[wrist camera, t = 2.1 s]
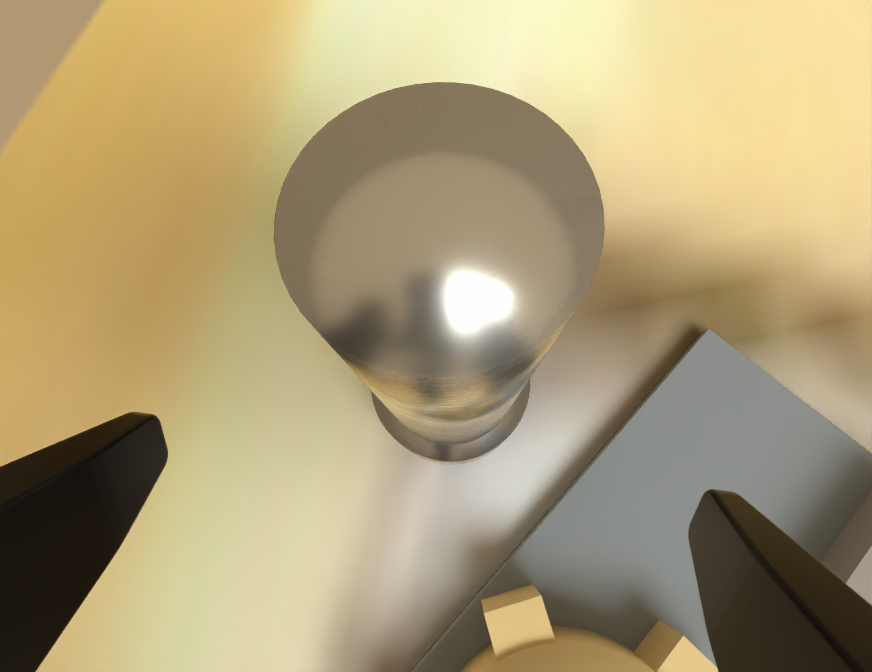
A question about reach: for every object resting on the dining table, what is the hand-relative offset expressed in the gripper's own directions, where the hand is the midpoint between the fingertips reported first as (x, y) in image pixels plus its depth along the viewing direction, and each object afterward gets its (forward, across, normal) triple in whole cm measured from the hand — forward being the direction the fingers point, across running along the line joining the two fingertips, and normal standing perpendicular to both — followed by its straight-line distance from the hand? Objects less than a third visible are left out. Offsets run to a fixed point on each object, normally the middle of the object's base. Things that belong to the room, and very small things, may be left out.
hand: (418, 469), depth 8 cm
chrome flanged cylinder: (+10, 0, +5) cm, 11 cm away
